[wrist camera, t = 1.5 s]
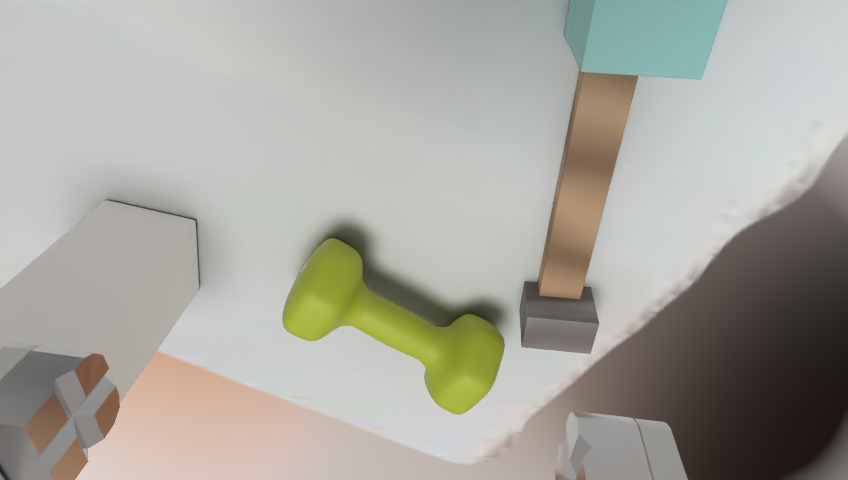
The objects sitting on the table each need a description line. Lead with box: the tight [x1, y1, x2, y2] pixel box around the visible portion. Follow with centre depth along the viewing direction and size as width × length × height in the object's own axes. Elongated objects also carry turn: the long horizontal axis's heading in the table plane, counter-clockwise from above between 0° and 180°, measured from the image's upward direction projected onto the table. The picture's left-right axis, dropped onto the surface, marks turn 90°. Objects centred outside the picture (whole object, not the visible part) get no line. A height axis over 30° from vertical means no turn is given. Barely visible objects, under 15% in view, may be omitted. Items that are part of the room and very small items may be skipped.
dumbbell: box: [283, 238, 505, 414], centre depth 41 cm, size 16×8×7 cm, turn 58°
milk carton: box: [0, 200, 199, 403], centre depth 35 cm, size 7×7×19 cm
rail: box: [520, 71, 638, 354], centre depth 33 cm, size 30×5×4 cm, turn 178°
